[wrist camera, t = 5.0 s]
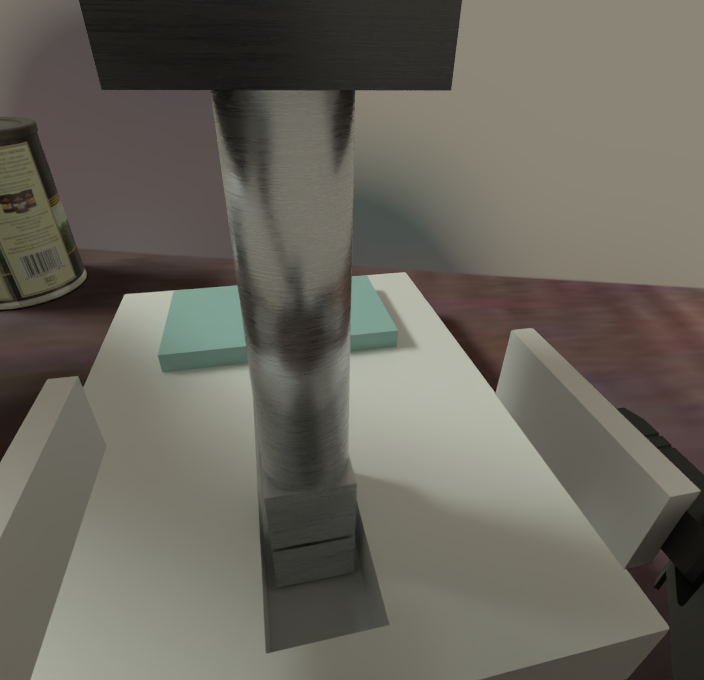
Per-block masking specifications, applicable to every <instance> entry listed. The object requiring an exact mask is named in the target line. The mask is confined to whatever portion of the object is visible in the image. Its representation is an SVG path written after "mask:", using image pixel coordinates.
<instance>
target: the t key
mask: <svg viewBox="0 0 704 680" xmlns="http://www.w3.org/2000/svg"><path fill="white" fill-rule="evenodd" d="M79 2H80V6H81V10H82V14H83V18H84V22H85V26H86V30H87V33H88V37H89V41H90V45H91V49H92V53H93V57H94V61H95V65H96V69H97V73H98V77H99V81H100V84H101V88H102V90H211V96H212V104H213V112H214V119H215V126H216V133H217V141H218V147H219V155H220V162H221V169H222V177H223V184H224V191H225V198H226V205H227V212H228V220H229V227H230V235H231V242H232V249H233V257H234V264H235V271H236V278H237V286H238V293H239V300H240V307H241V315H242V322H243V329H244V336H245V344H246V351H247V358H248V365H249V373H250V380H251V387H252V394H253V402H254V409H255V416H256V423H257V431H258V438H259V445H260V452H261V460H262V472H263V488H264V501H265V508H266V515H267V522H268V529H269V536H270V543H271V550H272V557H273V564H274V571H275V578H276V585H277V588H280V587H284V586H289V585H294V584H299V583H304V582H309V581H314V580H318V579H323V578H328V577H333V576H338V575H343V574H348V573H352V572H354V549H355V535H354V534H355V521H356V493H357V482H356V478H355V475H354V471H353V467H352V464H351V460H350V457H349V453H348V449H349V394H350V340H351V285H352V230H353V229H352V227H353V176H354V174H353V173H354V122H355V121H354V120H355V118H354V117H355V116H354V115H355V90H451V86H452V78H453V69H454V61H455V53H456V45H457V37H458V28H459V20H460V12H461V4H462V0H79Z"/></svg>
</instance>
